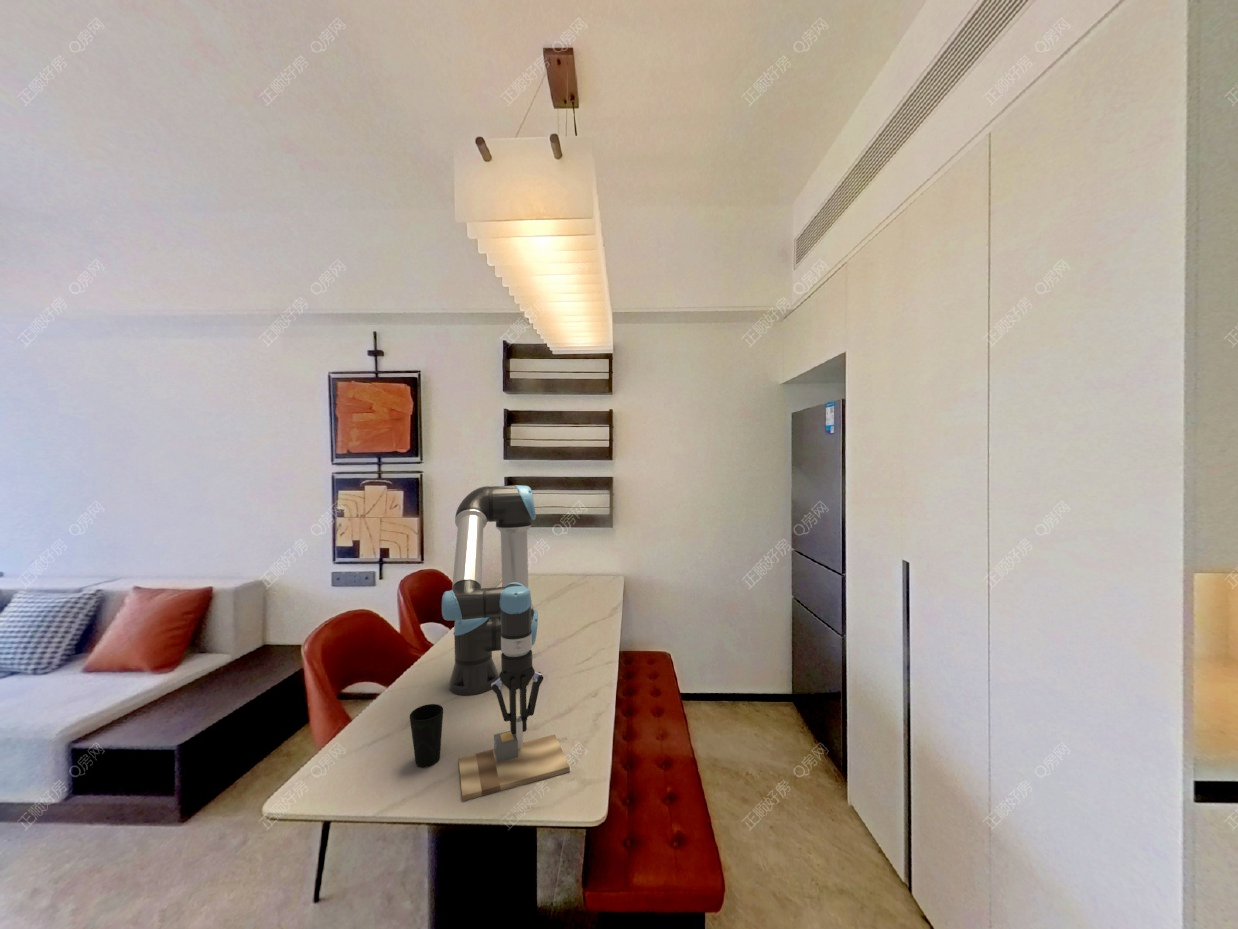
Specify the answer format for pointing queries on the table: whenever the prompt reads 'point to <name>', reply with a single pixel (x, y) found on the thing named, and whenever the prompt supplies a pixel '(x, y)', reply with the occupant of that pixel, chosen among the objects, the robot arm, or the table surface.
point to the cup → (427, 734)
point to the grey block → (505, 746)
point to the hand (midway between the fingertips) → (518, 744)
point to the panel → (511, 767)
